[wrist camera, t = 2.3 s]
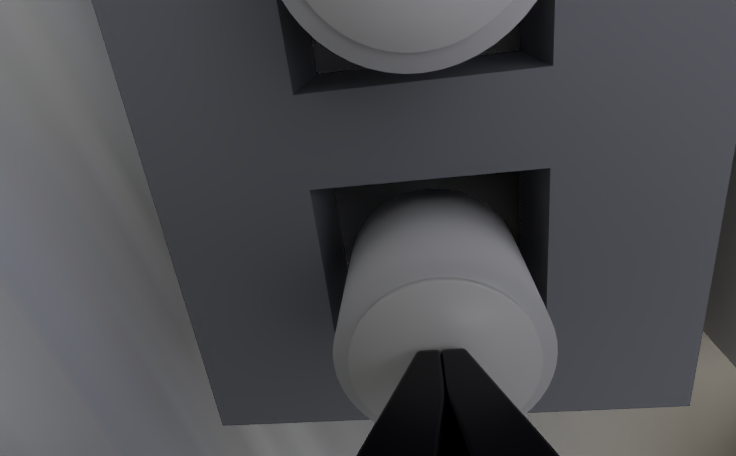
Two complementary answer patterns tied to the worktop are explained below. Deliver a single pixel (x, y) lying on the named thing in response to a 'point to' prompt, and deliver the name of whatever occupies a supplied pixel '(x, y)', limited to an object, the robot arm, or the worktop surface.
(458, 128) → the board
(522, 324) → the button
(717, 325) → the tile
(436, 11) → the button
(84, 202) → the worktop surface
